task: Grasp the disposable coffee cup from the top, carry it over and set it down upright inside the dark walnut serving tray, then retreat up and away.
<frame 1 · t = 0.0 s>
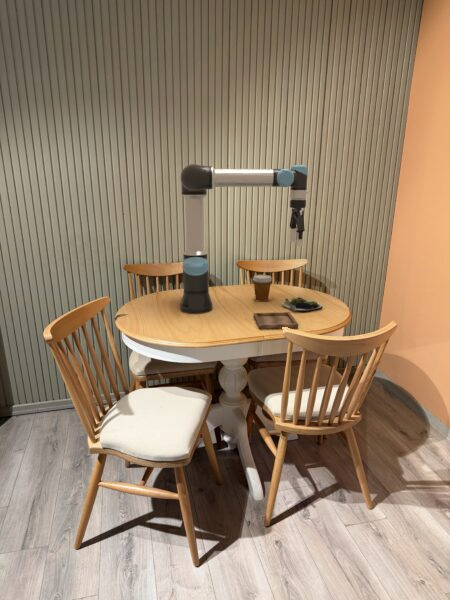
hand: (295, 244, 203), 28 cm above the table, tool pointing down, fingers open, 13 cm apart
walnut tray: (274, 322, 176), on the table
salad plate: (301, 308, 198), on the table
disposable coffee cup: (261, 300, 210), on the table
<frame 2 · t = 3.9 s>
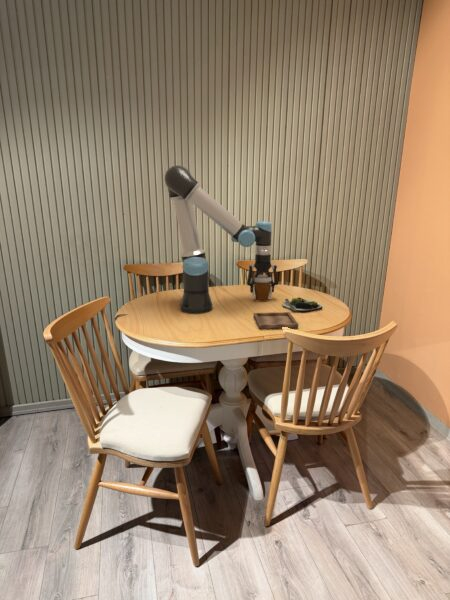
hand: (261, 298, 209), 1 cm above the table, tool pointing down, fingers closed on disposable coffee cup, 8 cm apart
disposable coffee cup: (261, 300, 210), on the table, touching gripper
everything else where it was.
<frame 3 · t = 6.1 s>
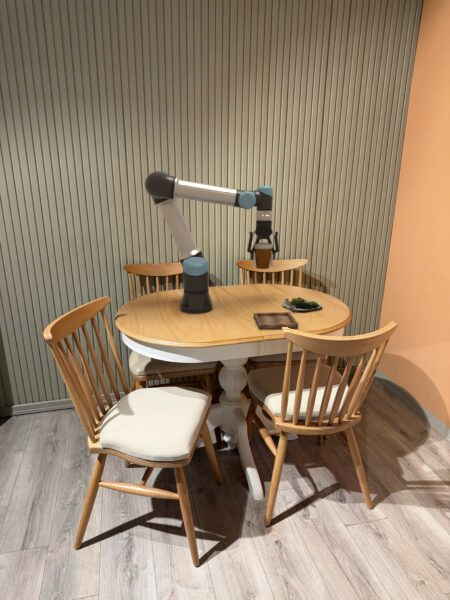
hand: (262, 266, 205), 17 cm above the table, tool pointing down, fingers closed on disposable coffee cup, 8 cm apart
disposable coffee cup: (262, 268, 205), point 16 cm above the table, touching gripper
everything else where it was.
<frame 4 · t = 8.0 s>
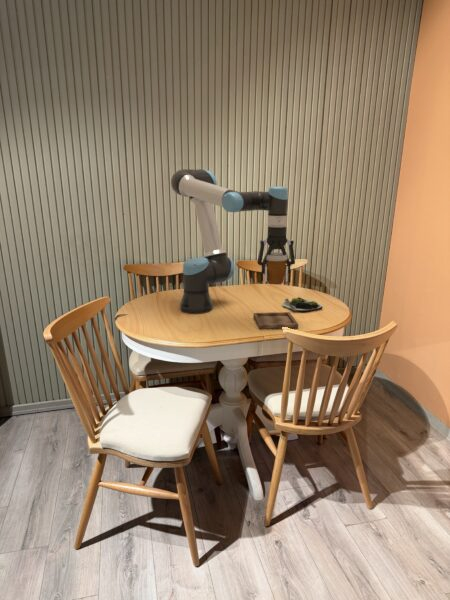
hand: (275, 281, 174), 17 cm above the table, tool pointing down, fingers closed on disposable coffee cup, 8 cm apart
disposable coffee cup: (275, 283, 174), point 17 cm above the table, touching gripper
everything else where it was.
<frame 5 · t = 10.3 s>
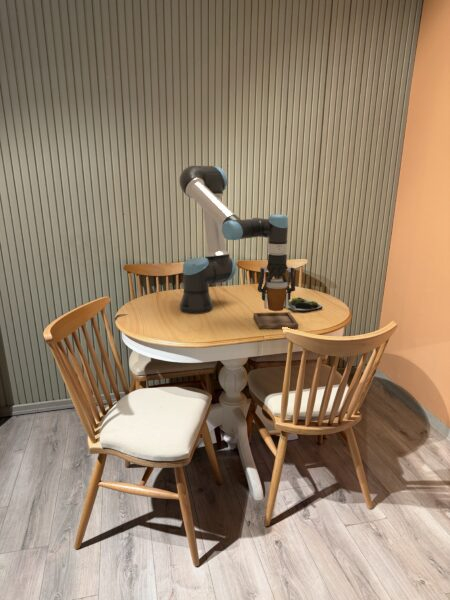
hand: (275, 307, 174), 7 cm above the table, tool pointing down, fingers closed on disposable coffee cup, 8 cm apart
disposable coffee cup: (275, 309, 174), point 6 cm above the table, touching gripper
everything else where it was.
when the fingers open (2 cm above the table, at t = 12.1 s): disposable coffee cup stays where it is, resting on walnut tray.
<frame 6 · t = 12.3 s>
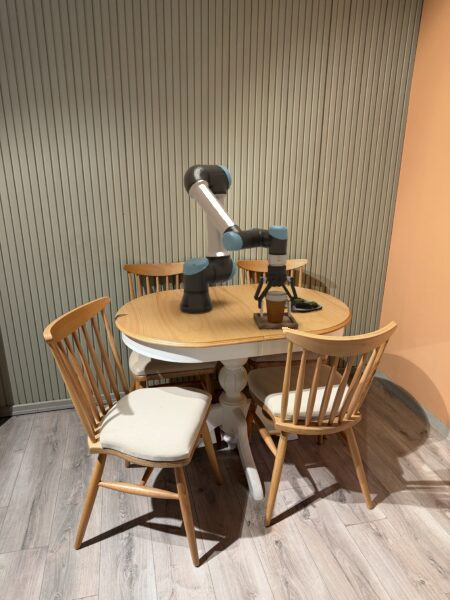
hand: (275, 315, 175), 3 cm above the table, tool pointing down, fingers open, 11 cm apart
disposable coffee cup: (275, 321, 176), point 1 cm above the table, touching walnut tray
everything else where it was.
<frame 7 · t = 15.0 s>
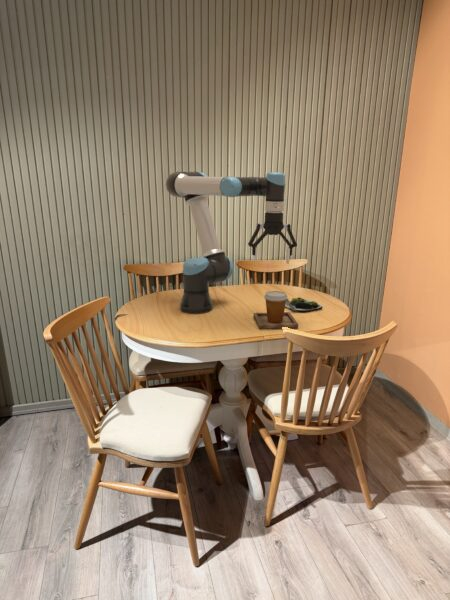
hand: (271, 263, 176), 24 cm above the table, tool pointing down, fingers open, 13 cm apart
nothing on the table moved.
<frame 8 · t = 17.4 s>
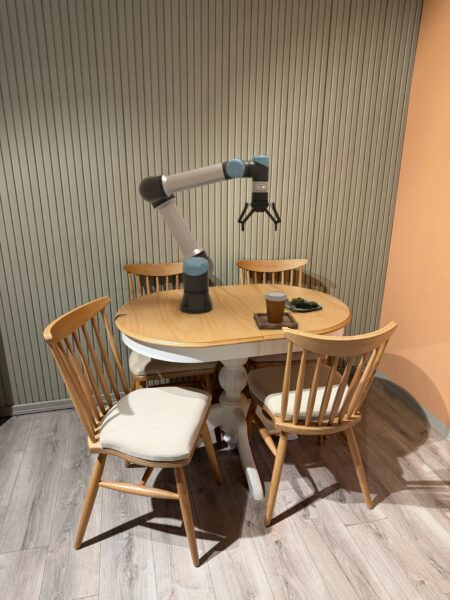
hand: (258, 238, 196), 32 cm above the table, tool pointing down, fingers open, 13 cm apart
nothing on the table moved.
at the end: disposable coffee cup inside the target area on the walnut tray (0.0 cm from its centre), point 0.6 cm above the walnut tray's base; disposable coffee cup tilted 0°; the gripper is holding nothing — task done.
